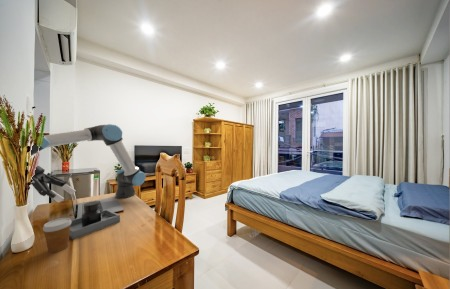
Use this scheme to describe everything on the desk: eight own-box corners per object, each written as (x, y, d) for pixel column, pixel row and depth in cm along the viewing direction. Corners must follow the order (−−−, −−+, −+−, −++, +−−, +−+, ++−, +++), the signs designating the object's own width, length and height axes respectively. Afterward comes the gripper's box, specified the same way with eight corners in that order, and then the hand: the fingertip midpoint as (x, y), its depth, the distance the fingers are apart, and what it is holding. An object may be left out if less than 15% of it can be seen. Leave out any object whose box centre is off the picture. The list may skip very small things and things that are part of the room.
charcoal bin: (107, 215, 112) (106, 209, 112) (119, 221, 104) (119, 215, 104) (61, 230, 94) (61, 223, 94) (72, 239, 85) (72, 231, 85)
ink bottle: (106, 221, 103) (105, 200, 102) (93, 228, 94) (92, 206, 93) (90, 220, 104) (90, 200, 103) (76, 227, 95) (76, 206, 94)
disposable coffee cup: (37, 252, 76) (36, 225, 75) (63, 240, 85) (62, 216, 84) (52, 257, 73) (51, 228, 72) (77, 244, 82) (76, 218, 81)
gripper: (39, 171, 100) (72, 194, 105) (2, 181, 76) (48, 210, 82) (50, 162, 101) (83, 185, 107) (18, 169, 78) (62, 198, 84)
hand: (68, 196), depth 95 cm, fingers open, 13 cm apart
